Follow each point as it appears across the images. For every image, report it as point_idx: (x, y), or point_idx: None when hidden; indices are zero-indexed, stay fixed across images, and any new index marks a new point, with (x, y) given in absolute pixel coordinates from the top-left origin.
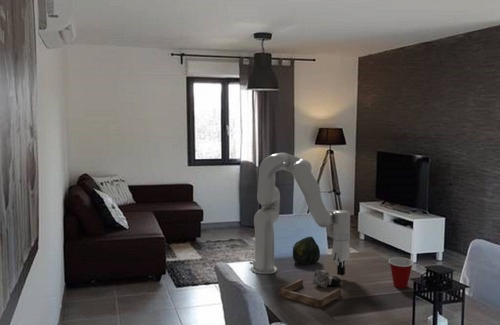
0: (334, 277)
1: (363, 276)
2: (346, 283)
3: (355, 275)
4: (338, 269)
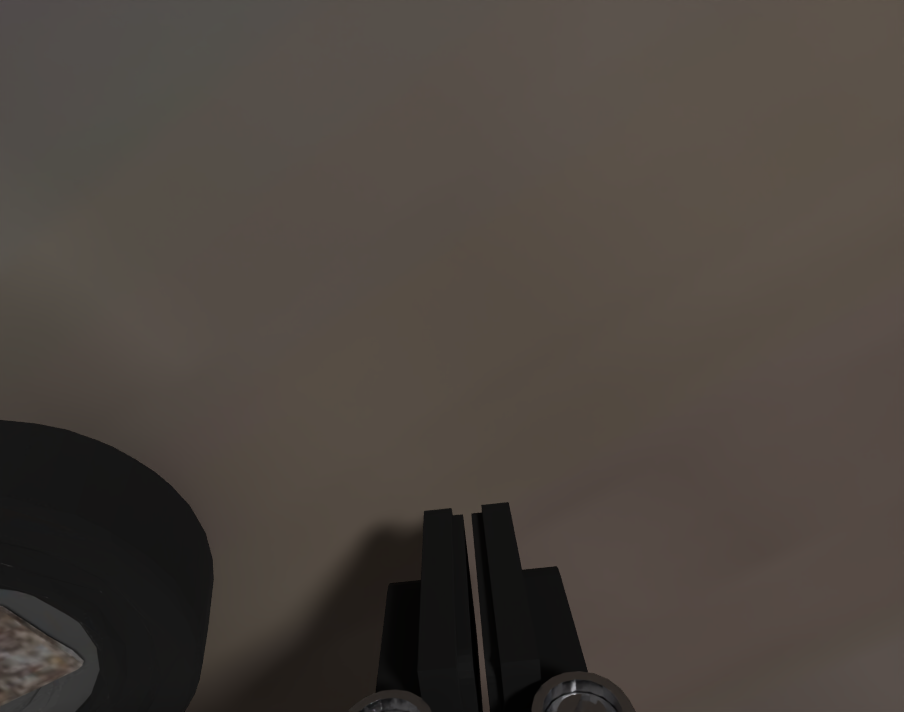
0: (58, 673)
1: (877, 700)
2: (320, 698)
3: (852, 587)
4: (381, 660)
